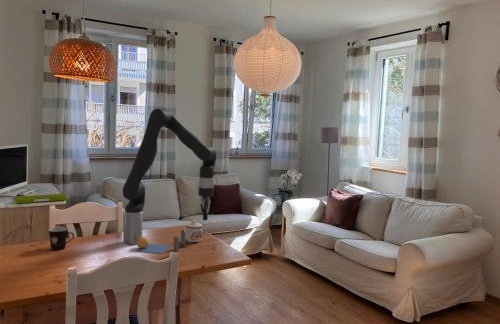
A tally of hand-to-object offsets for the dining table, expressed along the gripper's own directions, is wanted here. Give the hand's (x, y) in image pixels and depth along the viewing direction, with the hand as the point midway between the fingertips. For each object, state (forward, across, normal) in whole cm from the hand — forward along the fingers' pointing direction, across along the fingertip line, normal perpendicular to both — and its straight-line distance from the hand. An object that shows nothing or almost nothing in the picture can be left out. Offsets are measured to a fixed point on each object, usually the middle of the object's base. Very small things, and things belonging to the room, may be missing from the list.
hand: (205, 219), depth 204 cm
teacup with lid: (+17, -20, -9) cm, 28 cm away
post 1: (+17, +6, -13) cm, 22 cm away
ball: (+14, +1, -32) cm, 35 cm away
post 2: (+17, -6, -13) cm, 22 cm away
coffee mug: (+17, +12, -71) cm, 74 cm away
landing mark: (+17, 0, -27) cm, 32 cm away
